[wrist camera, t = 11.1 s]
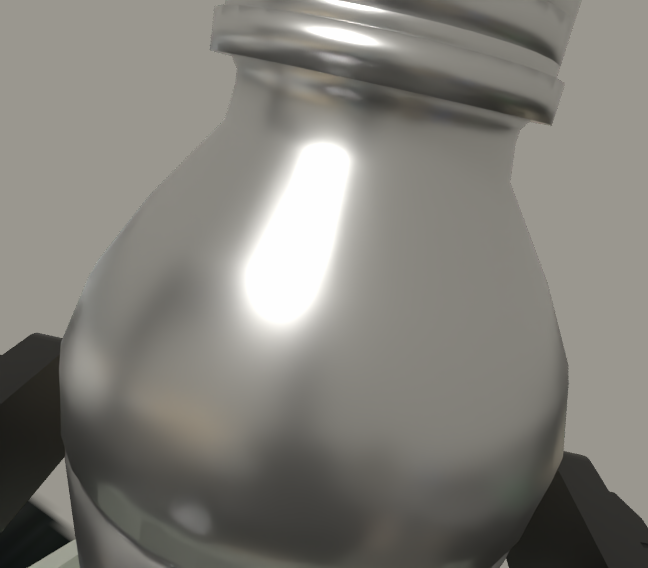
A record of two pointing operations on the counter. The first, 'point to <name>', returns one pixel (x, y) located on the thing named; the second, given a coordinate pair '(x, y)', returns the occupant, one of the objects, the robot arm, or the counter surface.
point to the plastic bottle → (330, 305)
